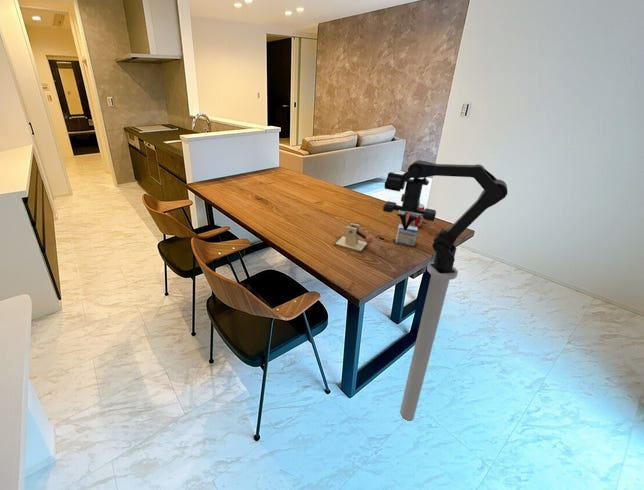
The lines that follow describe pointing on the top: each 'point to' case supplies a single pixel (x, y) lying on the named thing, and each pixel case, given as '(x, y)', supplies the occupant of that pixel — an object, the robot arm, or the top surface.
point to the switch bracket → (352, 238)
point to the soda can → (420, 218)
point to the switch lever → (367, 238)
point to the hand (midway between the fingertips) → (405, 230)
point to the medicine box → (407, 235)
